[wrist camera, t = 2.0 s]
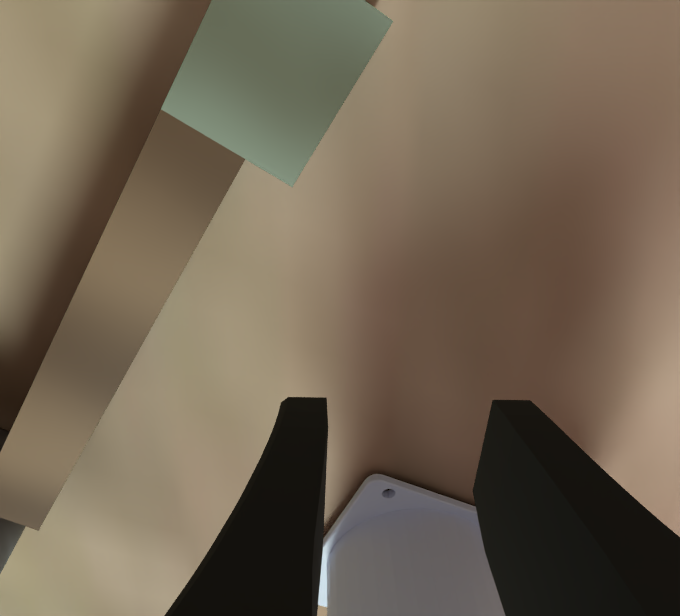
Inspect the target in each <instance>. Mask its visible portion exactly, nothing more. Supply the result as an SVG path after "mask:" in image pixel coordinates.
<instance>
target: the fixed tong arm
mask: <svg viewBox="0 0 680 616" xmlns="http://www.w3.org/2000/svg"><path fill="white" fill-rule="evenodd" d="M9 433H10V432H9V431H6V430H3V429H0V452H1V450H2V448H3V445H4V443H5V441H6V439H7V437H8V435H9ZM25 527H26V526H24V525H21V524H18V523H15V522H12V521H9V520H6V519H3V518H0V573H1V571H2V570H3V568H4V566H5V564H6V562H7V560H8V558H9V557H10V555H11V553H12V551H13V549H14V547H15V545H16V543H17V542H18V540H19V538H20V536H21V534H22V532H23V530H24V528H25Z"/></svg>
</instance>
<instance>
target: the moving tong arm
mask: <svg viewBox="0 0 680 616" xmlns="http://www.w3.org/2000/svg"><path fill="white" fill-rule="evenodd" d="M392 22H393V21H392V20H391V19H389V18H388V17H387V16H385V15H384V14H383V13H381V12H380V11H379V10H377V9H376V8H374V7H373V6H372V5H370V4H369V3H368V2H366V1H365V0H212V1H211V3H210V5H209V7H208V9H207V12H206V14H205V16H204V18H203V20H202V22H201V24H200V27H199V29H198V31H197V33H196V35H195V37H194V39H193V42H192V44H191V46H190V48H189V50H188V52H187V54H186V57H185V59H184V61H183V63H182V65H181V67H180V69H179V71H178V74H177V76H176V78H175V80H174V82H173V84H172V86H171V89H170V91H169V93H168V95H167V97H166V99H165V101H164V104H163V106H162V108H161V110H160V112H159V114H158V116H157V118H156V121H155V123H154V125H153V127H152V129H151V131H150V133H149V136H148V138H147V140H146V142H145V144H144V146H143V148H142V151H141V153H140V155H139V157H138V159H137V161H136V163H135V165H134V168H133V170H132V172H131V174H130V176H129V178H128V180H127V183H126V185H125V187H124V189H123V191H122V193H121V195H120V198H119V200H118V202H117V204H116V206H115V208H114V210H113V212H112V215H111V217H110V219H109V221H108V223H107V225H106V227H105V230H104V232H103V234H102V236H101V238H100V240H99V242H98V245H97V247H96V249H95V251H94V253H93V255H92V257H91V260H90V262H89V264H88V266H87V268H86V270H85V272H84V274H83V277H82V279H81V281H80V283H79V285H78V287H77V289H76V292H75V294H74V296H73V298H72V300H71V302H70V304H69V307H68V309H67V311H66V313H65V315H64V317H63V319H62V321H61V324H60V326H59V328H58V330H57V332H56V334H55V336H54V339H53V341H52V343H51V345H50V347H49V349H48V351H47V354H46V356H45V358H44V360H43V362H42V364H41V366H40V368H39V371H38V373H37V375H36V377H35V379H34V381H33V383H32V386H31V388H30V390H29V392H28V394H27V396H26V398H25V401H24V403H23V405H22V407H21V409H20V411H19V413H18V415H17V418H16V420H15V422H14V424H13V426H12V428H11V430H10V433H9V435H8V437H7V439H6V441H5V443H4V445H3V448H2V450H1V452H0V518H3V519H6V520H9V521H12V522H15V523H18V524H21V525H24V526H27V527H29V528H32V529H35V530H39V529H40V527H41V525H42V523H43V521H44V520H45V518H46V516H47V514H48V512H49V511H50V509H51V507H52V505H53V504H54V502H55V500H56V498H57V496H58V495H59V493H60V491H61V489H62V487H63V486H64V484H65V482H66V480H67V478H68V477H69V475H70V473H71V471H72V469H73V468H74V466H75V464H76V462H77V460H78V459H79V457H80V455H81V453H82V451H83V450H84V448H85V446H86V444H87V442H88V441H89V439H90V437H91V435H92V433H93V432H94V430H95V428H96V426H97V424H98V423H99V421H100V419H101V417H102V415H103V414H104V412H105V410H106V408H107V406H108V405H109V403H110V401H111V399H112V398H113V396H114V394H115V392H116V390H117V389H118V387H119V385H120V383H121V381H122V380H123V378H124V376H125V374H126V372H127V371H128V369H129V367H130V365H131V363H132V362H133V360H134V358H135V356H136V354H137V353H138V351H139V349H140V347H141V345H142V344H143V342H144V340H145V338H146V336H147V335H148V333H149V331H150V329H151V327H152V326H153V324H154V322H155V320H156V318H157V317H158V315H159V313H160V311H161V309H162V308H163V306H164V304H165V302H166V301H167V299H168V297H169V295H170V293H171V292H172V290H173V288H174V286H175V284H176V283H177V281H178V279H179V277H180V275H181V274H182V272H183V270H184V268H185V266H186V265H187V263H188V261H189V259H190V257H191V256H192V254H193V252H194V250H195V248H196V247H197V245H198V243H199V241H200V239H201V238H202V236H203V234H204V232H205V230H206V229H207V227H208V225H209V223H210V221H211V220H212V218H213V216H214V214H215V212H216V211H217V209H218V207H219V205H220V204H221V202H222V200H223V198H224V196H225V195H226V193H227V191H228V189H229V187H230V186H231V184H232V182H233V180H234V178H235V177H236V175H237V173H238V171H239V169H240V168H241V166H242V164H243V162H244V160H245V159H246V160H248V161H249V162H251V163H253V164H254V165H256V166H258V167H259V168H261V169H263V170H264V171H266V172H268V173H269V174H271V175H273V176H275V177H276V178H278V179H280V180H281V181H283V182H285V183H286V184H288V185H290V186H291V187H293V185H294V183H295V182H296V180H297V178H298V177H299V175H300V173H301V172H302V170H303V169H304V167H305V165H306V164H307V162H308V160H309V159H310V157H311V155H312V154H313V152H314V150H315V149H316V147H317V146H318V144H319V142H320V141H321V139H322V137H323V136H324V134H325V132H326V131H327V129H328V127H329V126H330V124H331V123H332V121H333V119H334V118H335V116H336V114H337V113H338V111H339V109H340V108H341V106H342V105H343V103H344V101H345V100H346V98H347V96H348V95H349V93H350V91H351V90H352V88H353V86H354V85H355V83H356V82H357V80H358V78H359V77H360V75H361V73H362V72H363V70H364V68H365V67H366V65H367V63H368V62H369V60H370V59H371V57H372V55H373V54H374V52H375V50H376V49H377V47H378V45H379V44H380V42H381V41H382V39H383V37H384V36H385V34H386V32H387V31H388V29H389V27H390V26H391V24H392Z"/></svg>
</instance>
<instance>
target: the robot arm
mask: <svg viewBox="0 0 680 616" xmlns="http://www.w3.org/2000/svg"><path fill="white" fill-rule="evenodd" d="M327 439H328V417H327V399H326V398H311V397H288V398H287V399H285V400H284V401H283V402H281V405H280V409H279V413H278V416H277V419H276V422H275V425H274V428H273V430H272V433H271V435H270V438H269V440H268V443H267V445H266V447H265V449H264V451H263V454H262V456H261V458H260V460H259V462H258V464H257V466H256V468H255V470H254V472H253V474H252V476H251V478H250V480H249V482H248V484H247V486H246V488H245V490H244V492H243V493H242V495H241V497H240V499H239V501H238V503H237V504H236V506H235V508H234V510H233V511H232V513H231V515H230V516H229V518H228V520H227V521H226V523H225V525H224V526H223V528H222V530H221V531H220V533H219V535H218V536H217V538H216V540H215V541H214V543H213V545H212V546H211V548H210V550H209V551H208V553H207V554H206V556H205V558H204V559H203V561H202V562H201V564H200V565H199V567H198V568H197V570H196V571H195V573H194V574H193V576H192V577H191V579H190V580H189V582H188V583H187V585H186V586H185V588H184V589H183V590H182V592H181V593H180V595H179V596H178V597H177V599H176V600H175V602H174V603H173V604H172V606H171V607H170V609H169V610H168V612H167V613H166V614H165V616H317V609H318V605H321V606H325V607H327V616H680V537H679V536H678V535H676V534H675V533H674V532H673V531H672V530H670V529H669V528H668V527H667V526H666V525H664V524H663V523H662V522H661V521H660V520H659V519H657V518H656V517H655V516H654V515H653V514H652V513H651V512H649V511H648V510H647V509H646V508H645V507H644V506H643V505H641V504H640V503H639V502H638V501H637V500H636V499H635V498H634V497H632V496H631V495H630V494H629V493H628V492H627V491H626V490H625V489H624V488H622V487H621V486H620V485H619V484H618V483H617V482H616V481H615V480H614V479H613V478H612V477H610V476H609V475H608V474H607V473H606V472H605V471H604V470H603V469H602V468H601V467H600V466H599V465H598V464H597V463H596V462H594V461H593V460H592V459H591V458H590V457H589V456H588V455H587V454H586V453H585V452H584V451H583V450H582V449H581V448H580V447H579V446H578V445H577V444H576V443H575V442H573V441H572V440H571V439H570V438H569V437H568V436H567V435H566V434H565V433H564V432H563V431H562V430H561V429H560V428H559V427H558V426H557V425H556V424H555V423H554V422H553V421H552V420H551V419H550V418H548V417H547V416H546V415H545V414H544V413H543V412H542V411H541V410H540V409H539V408H538V407H537V406H536V405H535V404H533V403H532V402H531V401H530V400H493V401H492V406H491V410H490V415H489V420H488V424H487V429H486V433H485V438H484V442H483V447H482V451H481V456H480V460H479V465H478V470H477V474H476V479H475V483H474V488H473V495H474V500H475V505H476V507H475V506H472V505H469V504H467V503H464V502H461V501H458V500H455V499H452V498H449V497H446V496H443V495H440V494H438V493H435V492H432V491H429V490H426V489H423V488H420V487H417V486H414V485H411V484H408V483H406V482H403V481H400V480H397V479H394V478H391V477H388V476H385V475H382V474H373V475H370V476H368V477H367V478H366V479H365V480H364V482H363V483H362V485H361V486H360V488H359V489H358V490H357V492H356V493H355V495H354V496H353V497H352V499H351V500H350V502H349V503H348V505H347V506H346V507H345V509H344V510H343V512H342V513H341V514H340V516H339V517H338V519H337V520H336V522H335V523H334V524H333V526H332V527H331V529H330V530H329V531H328V533H327V534H326V536H325V537H324V539H323V532H324V509H325V485H326V462H327ZM386 489H392V490H389V491H386Z"/></svg>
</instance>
